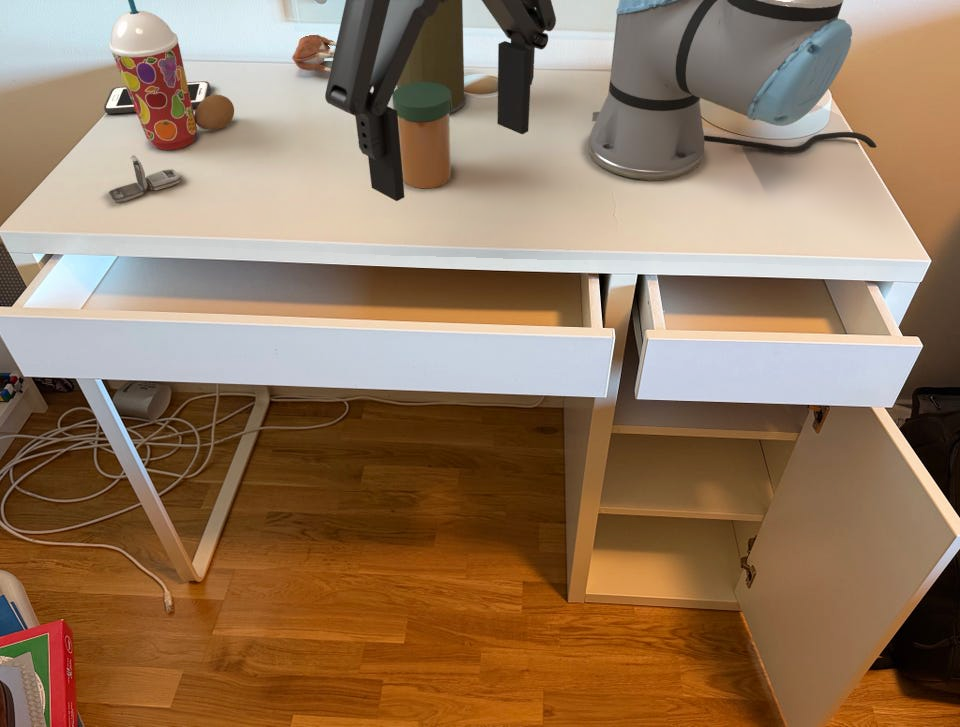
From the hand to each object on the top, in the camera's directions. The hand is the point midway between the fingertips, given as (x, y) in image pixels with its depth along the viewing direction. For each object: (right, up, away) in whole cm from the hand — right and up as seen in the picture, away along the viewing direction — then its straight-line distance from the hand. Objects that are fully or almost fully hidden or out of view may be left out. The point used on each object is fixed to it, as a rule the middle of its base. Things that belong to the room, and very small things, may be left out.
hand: (454, 158), depth 58 cm
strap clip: (-41, +6, +38) cm, 56 cm away
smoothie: (-41, +15, +48) cm, 65 cm away
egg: (-34, +22, +50) cm, 64 cm away
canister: (-6, +24, +56) cm, 61 cm away
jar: (-5, +9, +40) cm, 42 cm away
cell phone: (-47, +24, +57) cm, 77 cm away
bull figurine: (-20, +35, +65) cm, 76 cm away
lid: (-5, +16, +33) cm, 37 cm away
